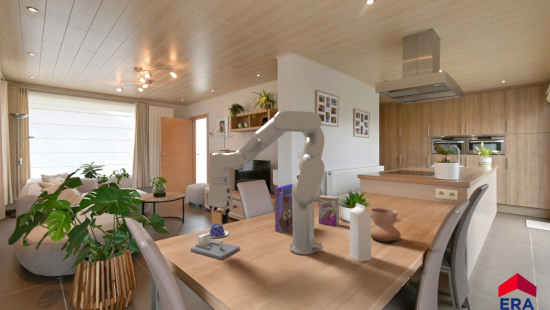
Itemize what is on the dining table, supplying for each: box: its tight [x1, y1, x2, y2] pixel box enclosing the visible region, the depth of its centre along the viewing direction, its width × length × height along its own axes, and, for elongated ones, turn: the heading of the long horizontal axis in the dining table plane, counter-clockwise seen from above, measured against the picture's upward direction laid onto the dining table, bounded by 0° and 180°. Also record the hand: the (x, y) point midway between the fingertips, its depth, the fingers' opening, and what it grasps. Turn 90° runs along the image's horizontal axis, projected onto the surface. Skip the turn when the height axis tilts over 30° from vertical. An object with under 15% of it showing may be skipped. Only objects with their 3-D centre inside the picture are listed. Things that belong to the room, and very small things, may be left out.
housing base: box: [190, 238, 241, 260], centre depth 111 cm, size 18×12×5 cm, turn 60°
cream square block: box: [197, 233, 211, 246], centre depth 115 cm, size 4×4×5 cm
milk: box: [349, 202, 372, 263], centre depth 101 cm, size 6×6×22 cm
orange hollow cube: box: [211, 209, 226, 226], centre depth 109 cm, size 5×5×5 cm
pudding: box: [205, 224, 230, 239], centre depth 132 cm, size 12×12×5 cm
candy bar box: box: [318, 195, 340, 227], centre depth 148 cm, size 11×5×16 cm, turn 58°
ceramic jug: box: [370, 207, 403, 243], centre depth 123 cm, size 18×14×14 cm
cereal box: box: [274, 183, 293, 234], centre depth 142 cm, size 17×5×24 cm, turn 148°
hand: (220, 221), depth 109 cm, fingers closed on orange hollow cube, 5 cm apart
